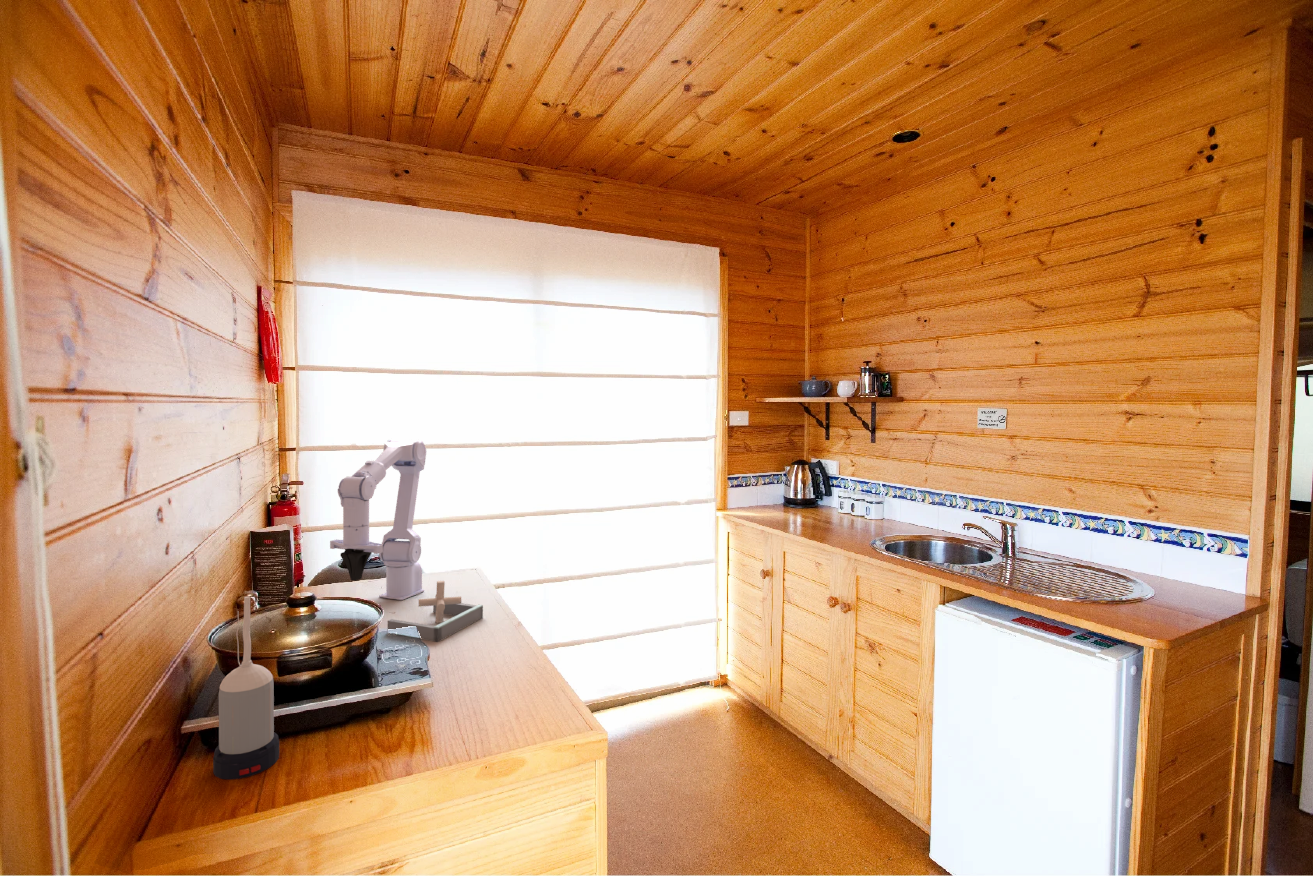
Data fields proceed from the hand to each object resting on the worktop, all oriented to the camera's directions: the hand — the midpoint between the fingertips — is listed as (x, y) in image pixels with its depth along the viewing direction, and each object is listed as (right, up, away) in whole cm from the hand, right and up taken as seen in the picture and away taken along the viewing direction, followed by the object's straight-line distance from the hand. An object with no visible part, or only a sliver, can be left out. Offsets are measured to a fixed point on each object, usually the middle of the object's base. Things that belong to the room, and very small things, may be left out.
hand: (356, 579), depth 150 cm
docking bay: (+20, -11, -1) cm, 23 cm away
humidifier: (+13, -13, -60) cm, 63 cm away
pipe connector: (+20, -11, +1) cm, 23 cm away
